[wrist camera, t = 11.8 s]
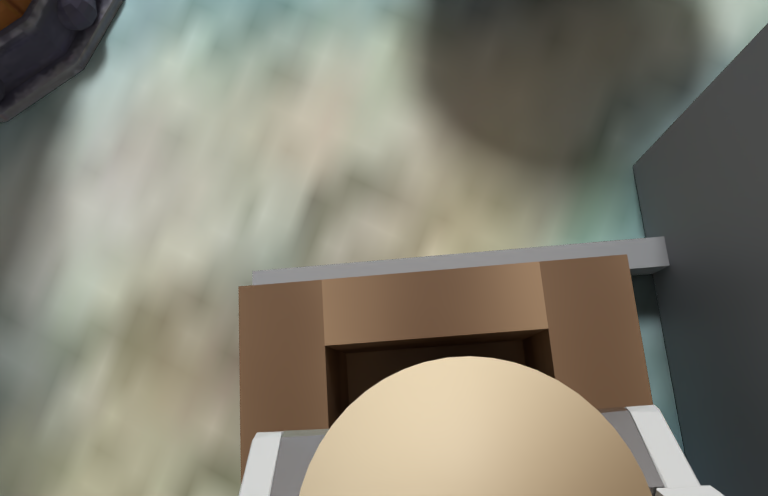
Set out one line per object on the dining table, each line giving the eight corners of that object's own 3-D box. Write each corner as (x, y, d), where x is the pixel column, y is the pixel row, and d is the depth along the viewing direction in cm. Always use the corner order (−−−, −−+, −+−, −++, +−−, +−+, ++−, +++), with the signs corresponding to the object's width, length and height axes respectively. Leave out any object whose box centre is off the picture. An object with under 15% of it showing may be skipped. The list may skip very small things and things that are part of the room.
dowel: (347, 471, 16) (223, 608, 6) (419, 345, 17) (407, 293, 7) (475, 554, 15) (556, 851, 6) (545, 419, 16) (726, 476, 6)
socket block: (300, 588, 19) (243, 679, 13) (290, 313, 21) (238, 286, 15) (611, 571, 18) (696, 658, 13) (569, 291, 20) (626, 254, 15)
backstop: (274, 747, 18) (133, 1085, 9) (262, 199, 22) (156, 80, 14) (803, 725, 17) (1190, 1077, 9) (688, 160, 21) (867, 7, 13)
